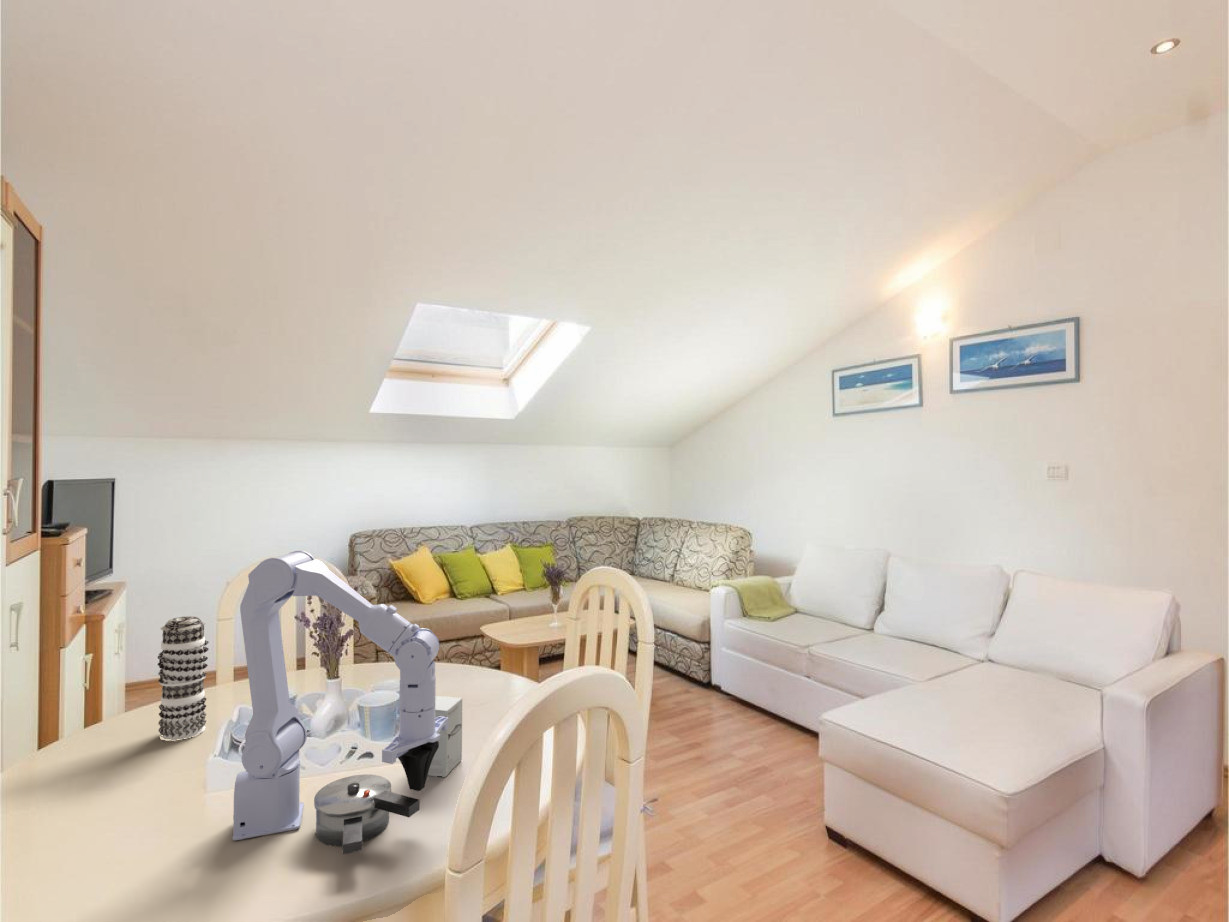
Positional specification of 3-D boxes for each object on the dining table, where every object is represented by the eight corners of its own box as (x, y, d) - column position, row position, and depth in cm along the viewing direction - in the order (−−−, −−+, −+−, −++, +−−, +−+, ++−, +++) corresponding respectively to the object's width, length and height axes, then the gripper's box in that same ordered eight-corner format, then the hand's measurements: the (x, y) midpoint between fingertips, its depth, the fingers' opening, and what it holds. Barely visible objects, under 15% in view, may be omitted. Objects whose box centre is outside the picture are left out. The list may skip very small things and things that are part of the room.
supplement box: (446, 778, 120) (446, 711, 120) (410, 774, 121) (410, 707, 122) (463, 760, 127) (463, 697, 127) (429, 757, 129) (429, 694, 129)
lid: (297, 806, 101) (297, 795, 101) (354, 773, 112) (354, 763, 112) (387, 833, 94) (387, 821, 94) (438, 795, 104) (438, 784, 104)
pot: (310, 880, 90) (310, 849, 90) (318, 815, 107) (318, 788, 107) (392, 863, 94) (392, 832, 94) (387, 803, 111) (387, 777, 111)
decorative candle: (216, 730, 141) (216, 617, 141) (168, 746, 133) (169, 626, 133) (195, 721, 146) (196, 612, 146) (149, 736, 138) (150, 620, 138)
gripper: (408, 726, 97) (407, 815, 97) (463, 694, 111) (463, 772, 111) (371, 719, 100) (370, 806, 100) (430, 689, 113) (429, 765, 113)
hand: (417, 788), depth 106 cm, fingers closed
